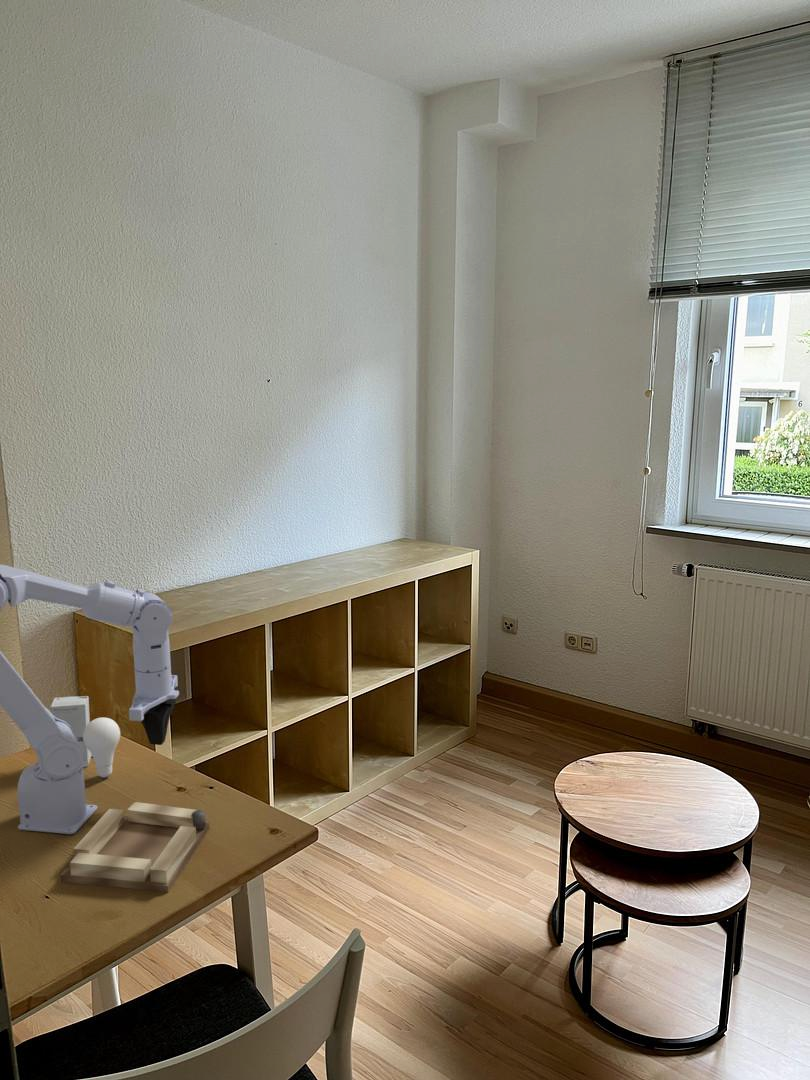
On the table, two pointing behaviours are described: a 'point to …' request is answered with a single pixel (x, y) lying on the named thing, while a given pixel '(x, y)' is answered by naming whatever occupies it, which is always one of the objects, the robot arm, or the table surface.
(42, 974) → the table surface
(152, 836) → the stool seat
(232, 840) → the table surface
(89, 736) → the lightbulb
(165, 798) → the table surface
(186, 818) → the hinged leg
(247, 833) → the table surface
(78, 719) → the skincare box
